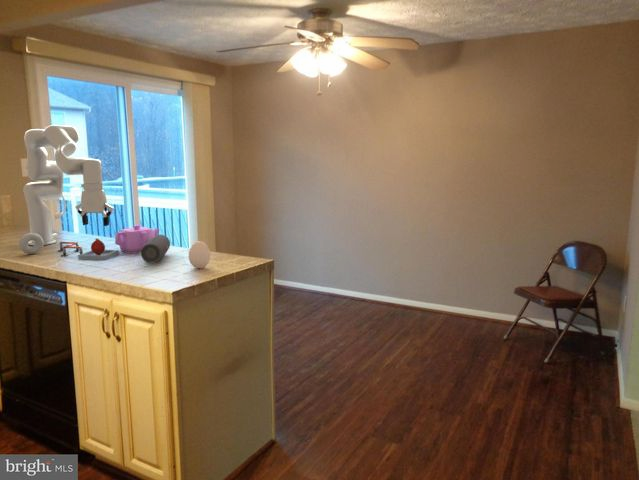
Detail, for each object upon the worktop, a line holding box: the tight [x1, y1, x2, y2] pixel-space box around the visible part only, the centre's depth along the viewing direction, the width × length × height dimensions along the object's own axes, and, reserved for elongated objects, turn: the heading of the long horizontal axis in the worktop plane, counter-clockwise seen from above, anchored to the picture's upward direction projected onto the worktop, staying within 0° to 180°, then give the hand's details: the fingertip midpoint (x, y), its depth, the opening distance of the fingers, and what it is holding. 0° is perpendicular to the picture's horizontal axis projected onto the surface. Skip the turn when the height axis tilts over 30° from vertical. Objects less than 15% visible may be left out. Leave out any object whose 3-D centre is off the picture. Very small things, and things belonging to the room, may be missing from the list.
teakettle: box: [114, 224, 160, 254], centre depth 225 cm, size 17×17×12 cm
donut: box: [18, 232, 44, 255], centre depth 214 cm, size 10×4×10 cm, turn 139°
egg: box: [188, 240, 211, 269], centre depth 190 cm, size 9×9×12 cm
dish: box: [77, 249, 120, 261], centre depth 211 cm, size 12×12×2 cm
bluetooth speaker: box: [140, 234, 171, 264], centre depth 205 cm, size 23×9×10 cm, turn 8°
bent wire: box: [57, 241, 84, 258], centre depth 216 cm, size 13×19×4 cm
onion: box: [90, 238, 106, 255], centre depth 210 cm, size 6×6×8 cm
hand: (96, 225), depth 208 cm, fingers open, 9 cm apart
